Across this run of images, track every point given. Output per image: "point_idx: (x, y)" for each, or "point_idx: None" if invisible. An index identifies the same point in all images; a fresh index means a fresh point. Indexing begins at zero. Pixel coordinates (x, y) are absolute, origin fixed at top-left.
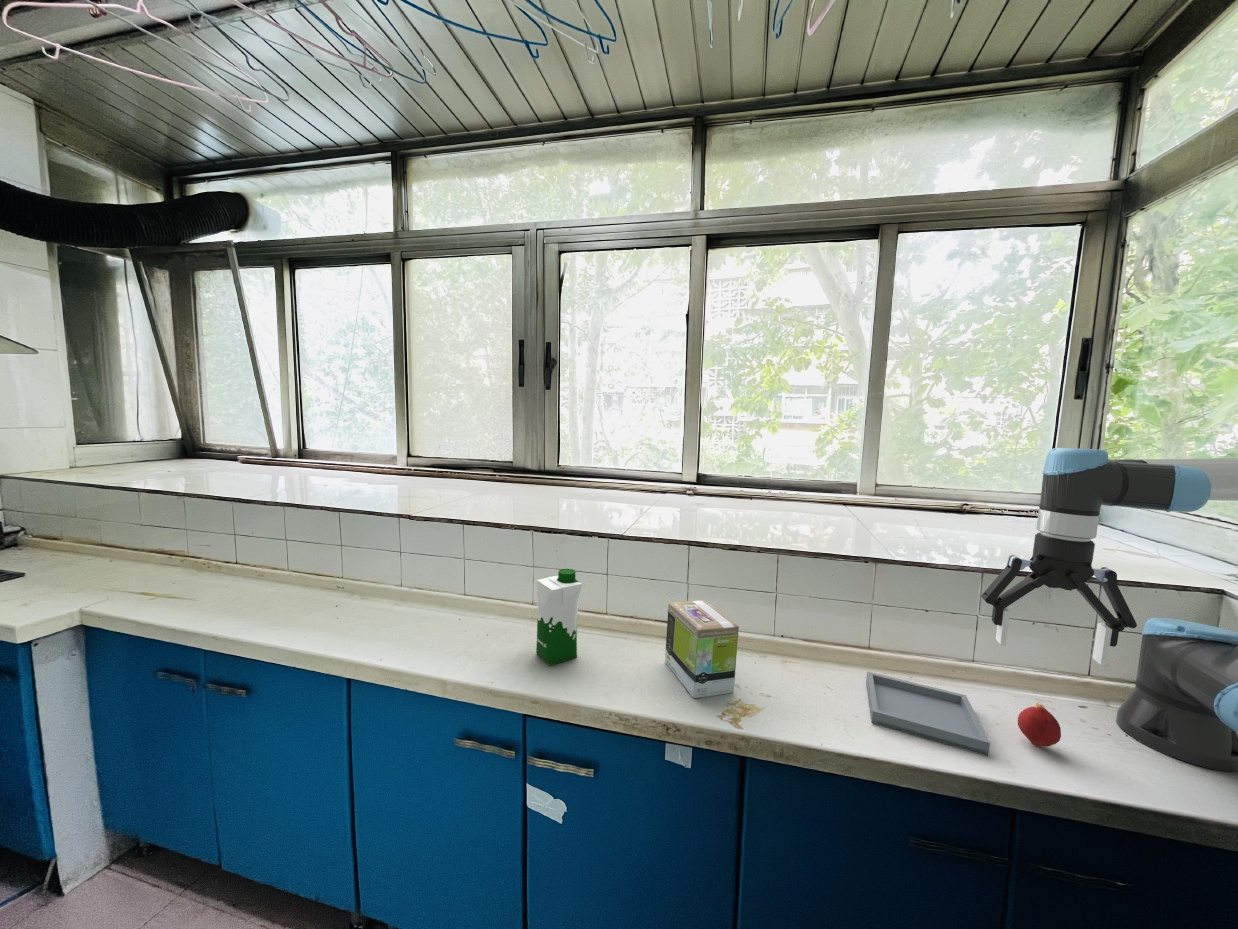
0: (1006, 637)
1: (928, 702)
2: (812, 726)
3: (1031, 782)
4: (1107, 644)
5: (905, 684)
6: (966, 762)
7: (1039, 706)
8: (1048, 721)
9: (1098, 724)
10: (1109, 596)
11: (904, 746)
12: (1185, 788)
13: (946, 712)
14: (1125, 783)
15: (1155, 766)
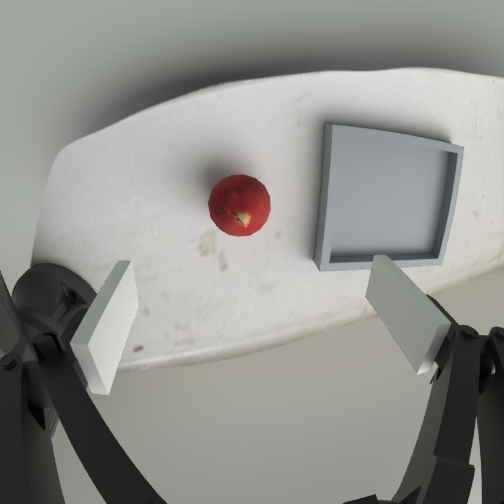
0: (387, 268)
1: (373, 234)
2: (499, 113)
3: (281, 84)
4: (99, 302)
5: (400, 259)
6: (359, 95)
7: (247, 214)
8: (235, 190)
9: None
10: (51, 492)
11: (425, 103)
12: (74, 195)
13: (356, 216)
14: (142, 158)
15: (90, 233)
